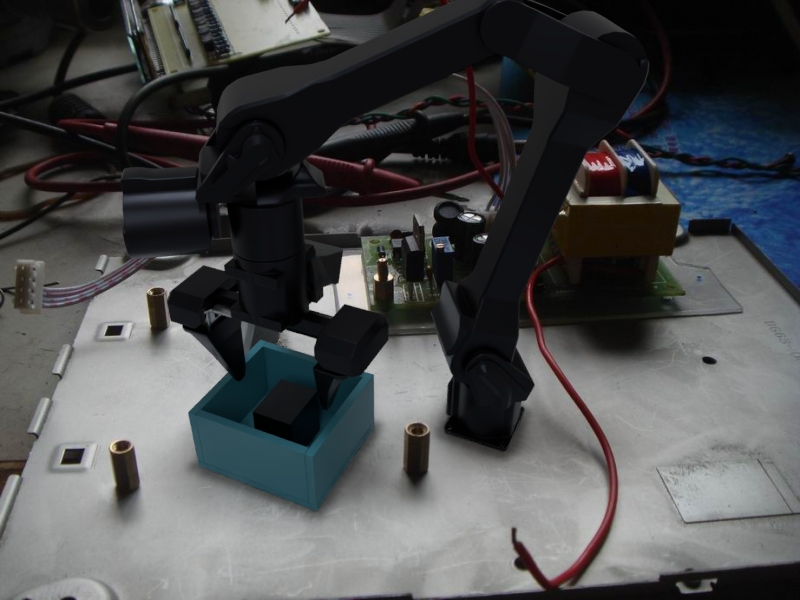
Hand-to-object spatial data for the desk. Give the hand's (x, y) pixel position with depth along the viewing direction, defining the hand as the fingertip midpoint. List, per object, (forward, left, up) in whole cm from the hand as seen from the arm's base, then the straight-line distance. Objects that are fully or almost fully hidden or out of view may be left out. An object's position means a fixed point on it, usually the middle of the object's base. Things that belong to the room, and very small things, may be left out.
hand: (283, 392), depth 68 cm
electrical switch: (+11, -11, -7) cm, 17 cm away
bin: (0, 0, -7) cm, 7 cm away
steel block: (0, 0, -6) cm, 6 cm away
